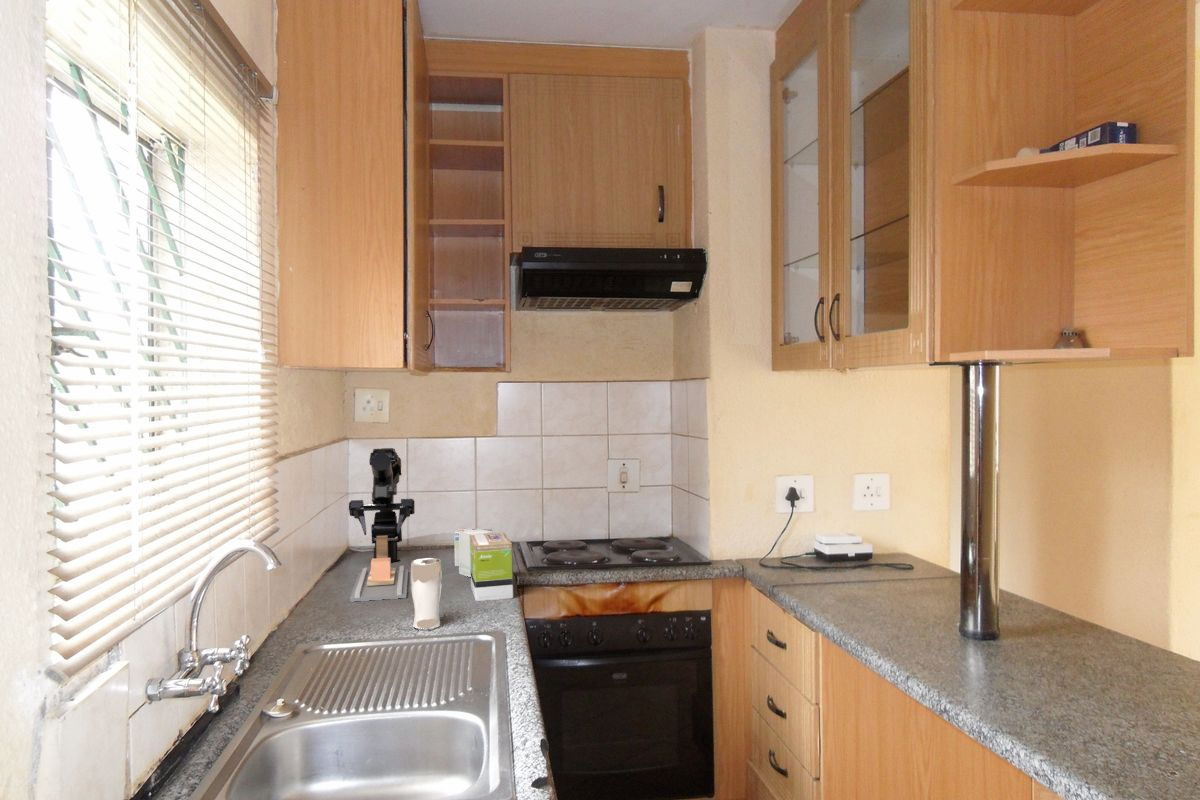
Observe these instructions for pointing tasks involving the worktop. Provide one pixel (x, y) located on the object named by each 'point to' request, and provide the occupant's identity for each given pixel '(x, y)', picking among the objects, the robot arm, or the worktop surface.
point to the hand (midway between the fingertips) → (381, 534)
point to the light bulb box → (456, 544)
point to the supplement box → (467, 549)
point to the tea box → (491, 567)
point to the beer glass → (426, 591)
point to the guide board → (380, 587)
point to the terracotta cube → (380, 569)
